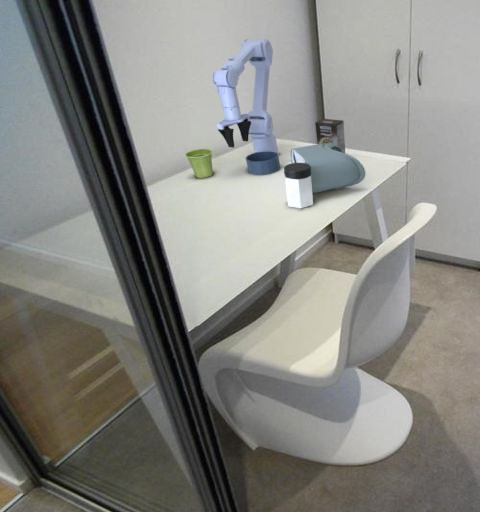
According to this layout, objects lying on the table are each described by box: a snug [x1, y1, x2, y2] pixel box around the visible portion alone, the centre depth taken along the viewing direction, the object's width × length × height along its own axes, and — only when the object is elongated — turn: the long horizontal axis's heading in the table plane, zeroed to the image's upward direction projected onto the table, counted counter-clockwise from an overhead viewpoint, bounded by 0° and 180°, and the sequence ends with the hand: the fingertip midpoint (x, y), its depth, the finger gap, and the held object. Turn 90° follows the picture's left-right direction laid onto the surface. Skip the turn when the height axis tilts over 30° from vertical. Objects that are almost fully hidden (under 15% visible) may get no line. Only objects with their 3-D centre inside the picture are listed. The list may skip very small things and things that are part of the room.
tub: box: [245, 151, 281, 176], centre depth 165 cm, size 12×12×5 cm
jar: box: [283, 163, 314, 209], centre depth 136 cm, size 9×8×12 cm
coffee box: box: [314, 118, 346, 154], centre depth 167 cm, size 9×6×16 cm
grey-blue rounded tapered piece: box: [290, 143, 366, 194], centre depth 149 cm, size 22×19×13 cm
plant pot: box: [184, 148, 214, 179], centre depth 160 cm, size 9×9×9 cm
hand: (238, 144), depth 160 cm, fingers open, 7 cm apart
